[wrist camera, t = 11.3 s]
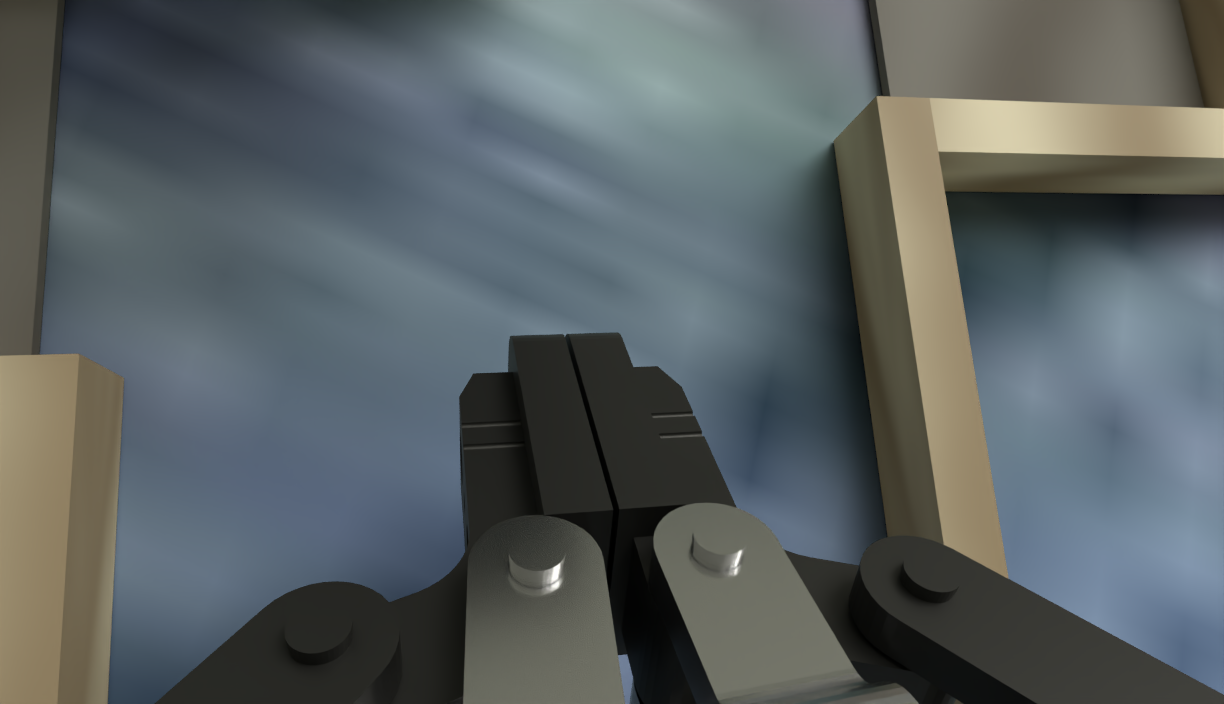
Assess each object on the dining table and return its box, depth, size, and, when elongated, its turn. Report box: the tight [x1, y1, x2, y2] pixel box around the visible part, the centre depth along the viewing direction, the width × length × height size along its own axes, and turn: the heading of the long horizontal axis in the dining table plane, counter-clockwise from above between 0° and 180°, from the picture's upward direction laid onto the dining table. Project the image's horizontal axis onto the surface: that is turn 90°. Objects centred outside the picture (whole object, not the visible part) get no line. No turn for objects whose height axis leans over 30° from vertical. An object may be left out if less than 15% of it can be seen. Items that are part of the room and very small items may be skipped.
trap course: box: [0, 0, 1224, 704], centre depth 17 cm, size 37×33×3 cm
